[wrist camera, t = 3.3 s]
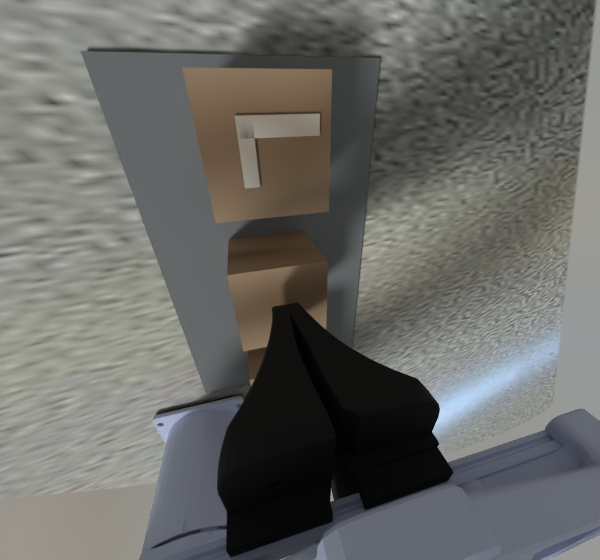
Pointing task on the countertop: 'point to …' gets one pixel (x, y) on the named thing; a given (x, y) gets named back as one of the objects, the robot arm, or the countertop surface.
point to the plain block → (274, 281)
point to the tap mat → (196, 199)
